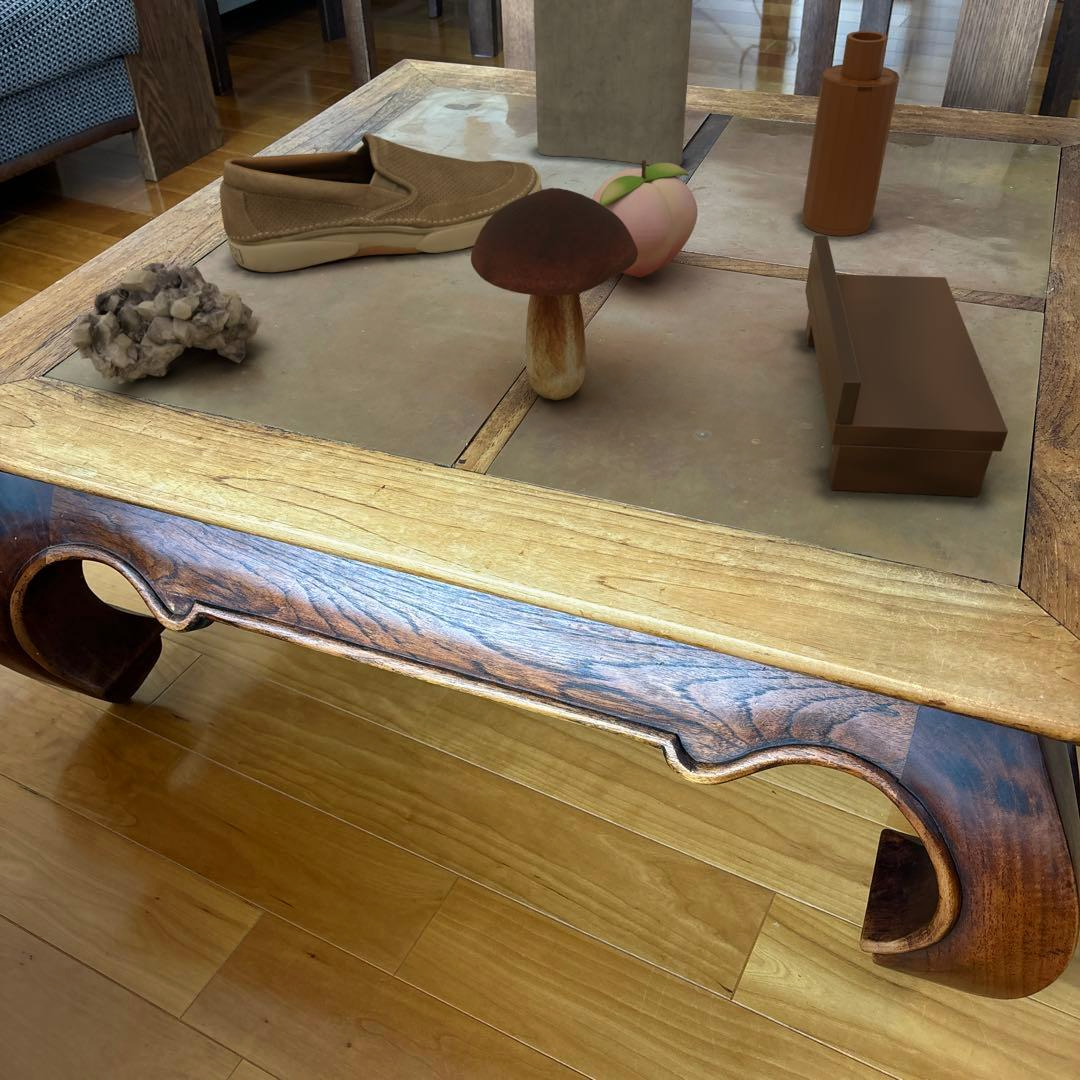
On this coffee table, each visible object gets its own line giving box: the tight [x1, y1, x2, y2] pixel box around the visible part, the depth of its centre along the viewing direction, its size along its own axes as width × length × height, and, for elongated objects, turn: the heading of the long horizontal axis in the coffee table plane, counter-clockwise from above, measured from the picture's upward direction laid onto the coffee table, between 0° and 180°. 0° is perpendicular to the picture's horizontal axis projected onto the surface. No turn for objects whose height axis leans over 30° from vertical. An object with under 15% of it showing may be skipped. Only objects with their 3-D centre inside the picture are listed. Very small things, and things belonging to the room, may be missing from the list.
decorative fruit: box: [591, 160, 698, 278], centre depth 85 cm, size 9×8×10 cm
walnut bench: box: [804, 235, 1009, 498], centre depth 69 cm, size 10×20×8 cm, turn 174°
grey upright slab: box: [533, 0, 693, 167], centre depth 103 cm, size 16×4×20 cm, turn 70°
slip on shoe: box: [219, 133, 543, 273], centre depth 93 cm, size 30×11×9 cm, turn 106°
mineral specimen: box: [69, 261, 263, 385], centre depth 76 cm, size 12×9×10 cm
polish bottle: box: [801, 30, 900, 237], centre depth 90 cm, size 6×6×16 cm
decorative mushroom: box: [470, 187, 638, 401], centre depth 69 cm, size 11×11×15 cm
